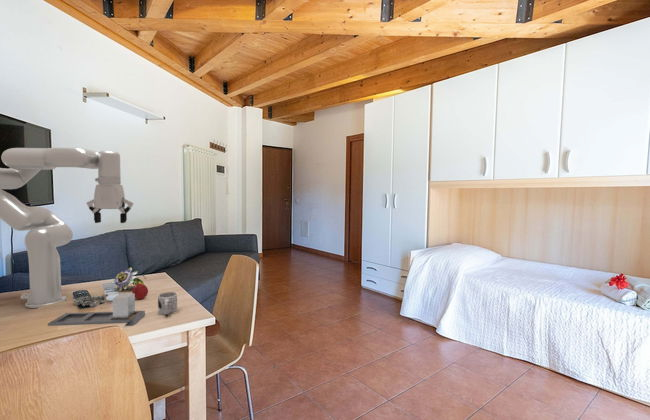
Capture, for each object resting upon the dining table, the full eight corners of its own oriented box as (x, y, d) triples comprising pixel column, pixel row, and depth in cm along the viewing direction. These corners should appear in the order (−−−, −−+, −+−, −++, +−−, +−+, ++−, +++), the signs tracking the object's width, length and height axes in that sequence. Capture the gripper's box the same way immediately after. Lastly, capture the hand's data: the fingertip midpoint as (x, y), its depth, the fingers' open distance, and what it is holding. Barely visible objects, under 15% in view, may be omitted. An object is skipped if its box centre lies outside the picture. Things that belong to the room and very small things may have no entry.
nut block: (113, 320, 110) (112, 298, 110) (120, 314, 115) (120, 293, 114) (128, 320, 111) (127, 298, 110) (134, 314, 116) (134, 293, 115)
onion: (151, 298, 136) (150, 280, 135) (142, 303, 130) (141, 284, 130) (138, 297, 136) (138, 279, 136) (129, 302, 131) (128, 283, 130)
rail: (48, 328, 105) (47, 323, 105) (66, 317, 114) (66, 313, 114) (133, 325, 109) (133, 320, 109) (144, 314, 118) (144, 310, 118)
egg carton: (109, 304, 129) (109, 294, 129) (92, 310, 122) (92, 300, 122) (88, 301, 131) (88, 291, 131) (70, 307, 124) (70, 297, 124)
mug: (159, 309, 124) (159, 292, 124) (177, 307, 126) (177, 291, 126) (155, 319, 115) (155, 301, 114) (175, 316, 117) (175, 299, 117)
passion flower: (121, 302, 145) (104, 282, 143) (137, 290, 155) (121, 272, 154) (138, 290, 143) (120, 270, 141) (153, 279, 153) (137, 260, 151)
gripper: (80, 180, 124) (82, 223, 125) (127, 181, 126) (128, 223, 127) (92, 181, 131) (93, 221, 132) (136, 182, 133) (137, 221, 134)
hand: (110, 222), depth 130 cm, fingers open, 9 cm apart
